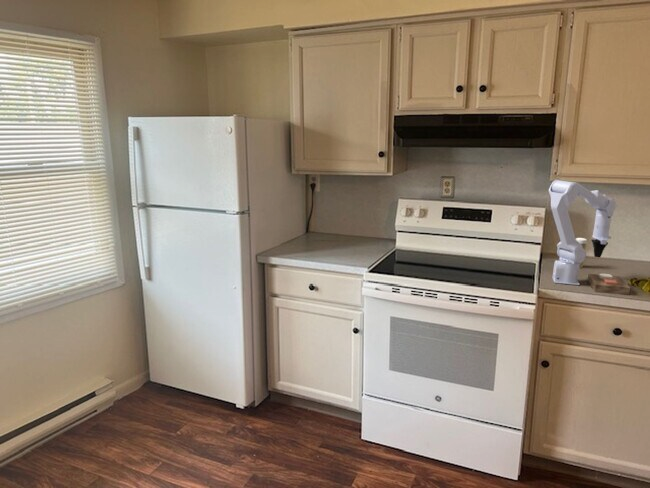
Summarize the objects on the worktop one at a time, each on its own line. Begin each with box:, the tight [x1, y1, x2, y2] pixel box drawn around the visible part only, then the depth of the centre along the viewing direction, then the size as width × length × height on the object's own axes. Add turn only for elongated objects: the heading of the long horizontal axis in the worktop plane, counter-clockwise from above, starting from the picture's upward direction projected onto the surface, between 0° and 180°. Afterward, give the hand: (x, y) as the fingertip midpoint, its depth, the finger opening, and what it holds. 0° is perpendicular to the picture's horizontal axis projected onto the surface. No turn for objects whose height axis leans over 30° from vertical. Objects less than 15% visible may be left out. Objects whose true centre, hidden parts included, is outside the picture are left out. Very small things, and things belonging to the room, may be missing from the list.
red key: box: [603, 279, 617, 285], centre depth 194 cm, size 4×4×2 cm
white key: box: [599, 273, 613, 279], centre depth 201 cm, size 4×4×2 cm
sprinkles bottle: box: [575, 237, 588, 269], centre depth 224 cm, size 5×5×13 cm
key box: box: [587, 273, 631, 296], centre depth 197 cm, size 12×15×3 cm
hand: (597, 256), depth 208 cm, fingers closed
